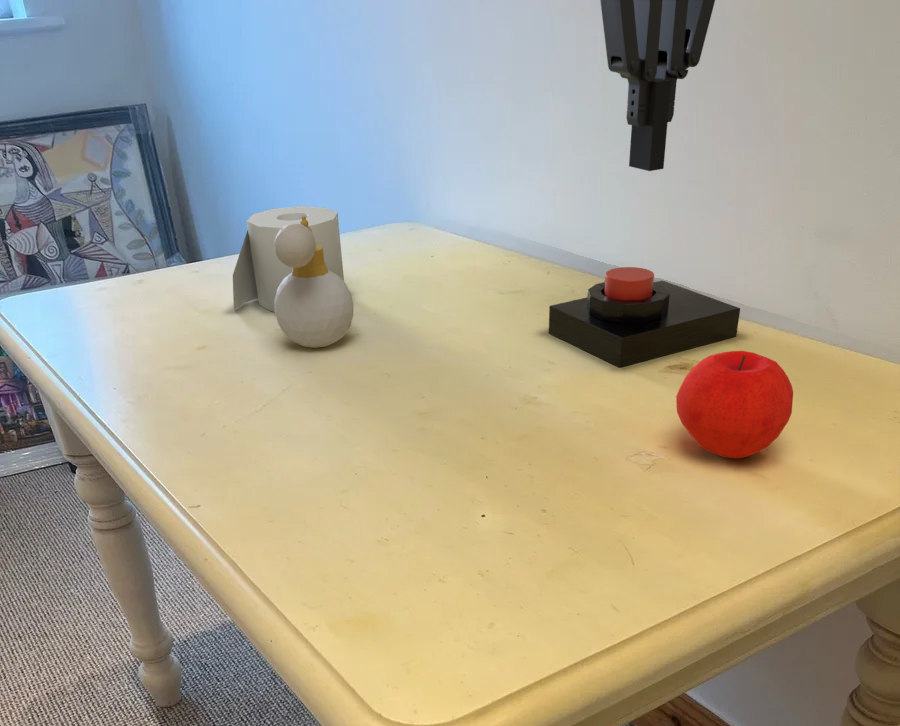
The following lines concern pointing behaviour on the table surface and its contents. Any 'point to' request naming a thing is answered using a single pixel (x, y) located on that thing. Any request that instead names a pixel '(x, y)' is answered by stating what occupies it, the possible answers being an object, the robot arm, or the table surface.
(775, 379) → the apple
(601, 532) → the table surface
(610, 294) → the button
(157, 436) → the table surface
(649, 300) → the button base
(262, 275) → the toilet tissue
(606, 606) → the table surface
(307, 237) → the perfume bottle
